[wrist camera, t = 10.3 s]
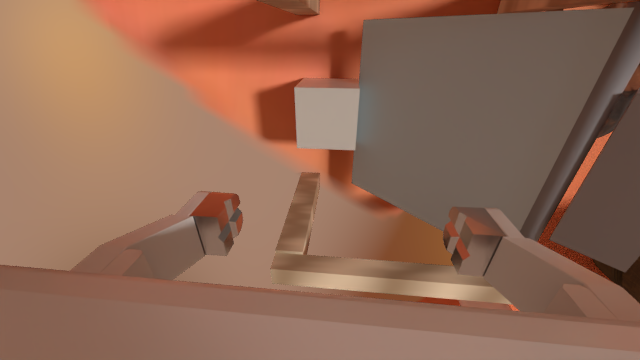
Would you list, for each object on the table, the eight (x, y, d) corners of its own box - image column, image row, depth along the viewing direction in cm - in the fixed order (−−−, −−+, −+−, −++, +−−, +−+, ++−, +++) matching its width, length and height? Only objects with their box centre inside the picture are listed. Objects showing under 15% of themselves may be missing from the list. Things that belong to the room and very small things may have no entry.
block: (359, 88, 19) (294, 87, 20) (355, 150, 22) (297, 147, 22) (357, 78, 23) (304, 77, 24) (354, 130, 26) (305, 129, 26)
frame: (534, -19, 19) (837, -105, 7) (462, 195, 28) (542, 309, 17) (294, -16, 20) (221, -82, 9) (302, 187, 30) (272, 285, 18)
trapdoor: (844, -7, 8) (876, -13, 7) (595, 291, 15) (590, 313, 14) (380, 17, 20) (363, 16, 19) (364, 178, 27) (350, 185, 26)
